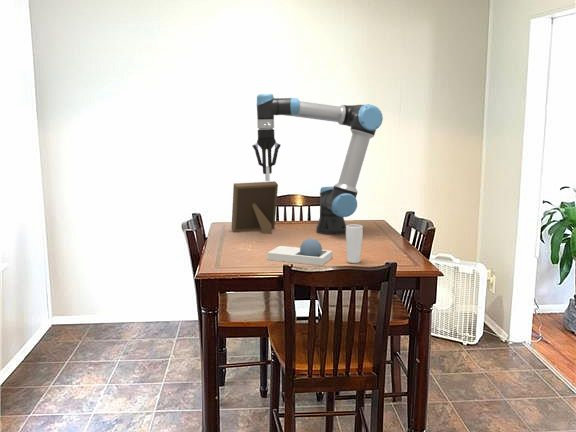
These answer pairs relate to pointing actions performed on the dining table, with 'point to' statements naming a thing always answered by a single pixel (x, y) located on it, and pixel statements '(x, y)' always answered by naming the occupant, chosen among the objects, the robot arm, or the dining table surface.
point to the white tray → (298, 256)
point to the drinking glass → (354, 242)
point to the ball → (311, 248)
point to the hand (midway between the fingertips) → (267, 180)
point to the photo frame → (254, 206)
